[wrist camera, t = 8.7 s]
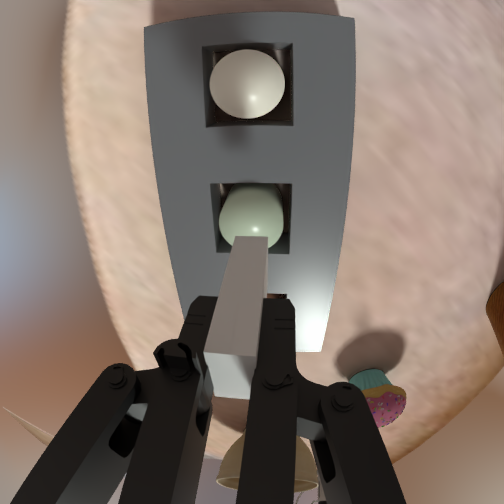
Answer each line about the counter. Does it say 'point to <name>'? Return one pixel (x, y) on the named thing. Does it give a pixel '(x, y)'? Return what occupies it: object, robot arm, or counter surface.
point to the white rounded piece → (247, 83)
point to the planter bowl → (303, 466)
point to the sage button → (252, 212)
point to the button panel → (255, 152)
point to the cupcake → (380, 395)
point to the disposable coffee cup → (497, 314)
